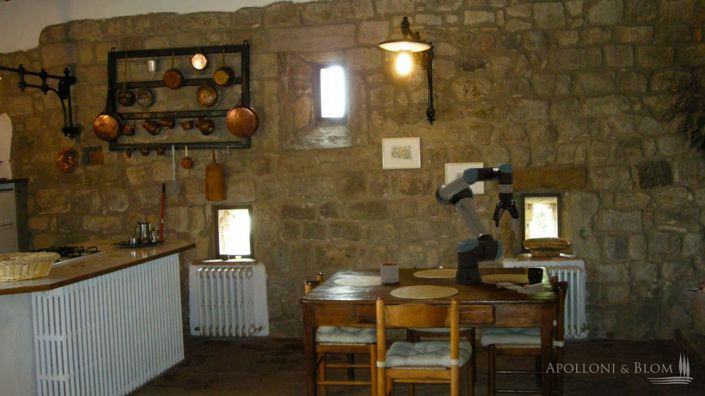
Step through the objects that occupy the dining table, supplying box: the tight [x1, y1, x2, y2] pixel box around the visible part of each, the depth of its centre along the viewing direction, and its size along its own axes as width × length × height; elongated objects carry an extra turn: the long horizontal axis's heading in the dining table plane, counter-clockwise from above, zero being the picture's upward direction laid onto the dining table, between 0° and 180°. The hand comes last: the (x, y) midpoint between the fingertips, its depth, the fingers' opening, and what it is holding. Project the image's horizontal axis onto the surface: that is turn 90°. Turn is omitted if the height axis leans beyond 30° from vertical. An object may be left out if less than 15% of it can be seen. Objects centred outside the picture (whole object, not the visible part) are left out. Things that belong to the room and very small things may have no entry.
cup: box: [379, 262, 399, 284], centre depth 381 cm, size 10×10×10 cm
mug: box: [526, 266, 544, 285], centre depth 356 cm, size 8×12×10 cm
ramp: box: [495, 280, 524, 292], centre depth 354 cm, size 15×7×3 cm, turn 40°
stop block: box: [516, 282, 544, 295], centre depth 345 cm, size 8×11×4 cm
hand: (506, 231), depth 363 cm, fingers open, 13 cm apart
